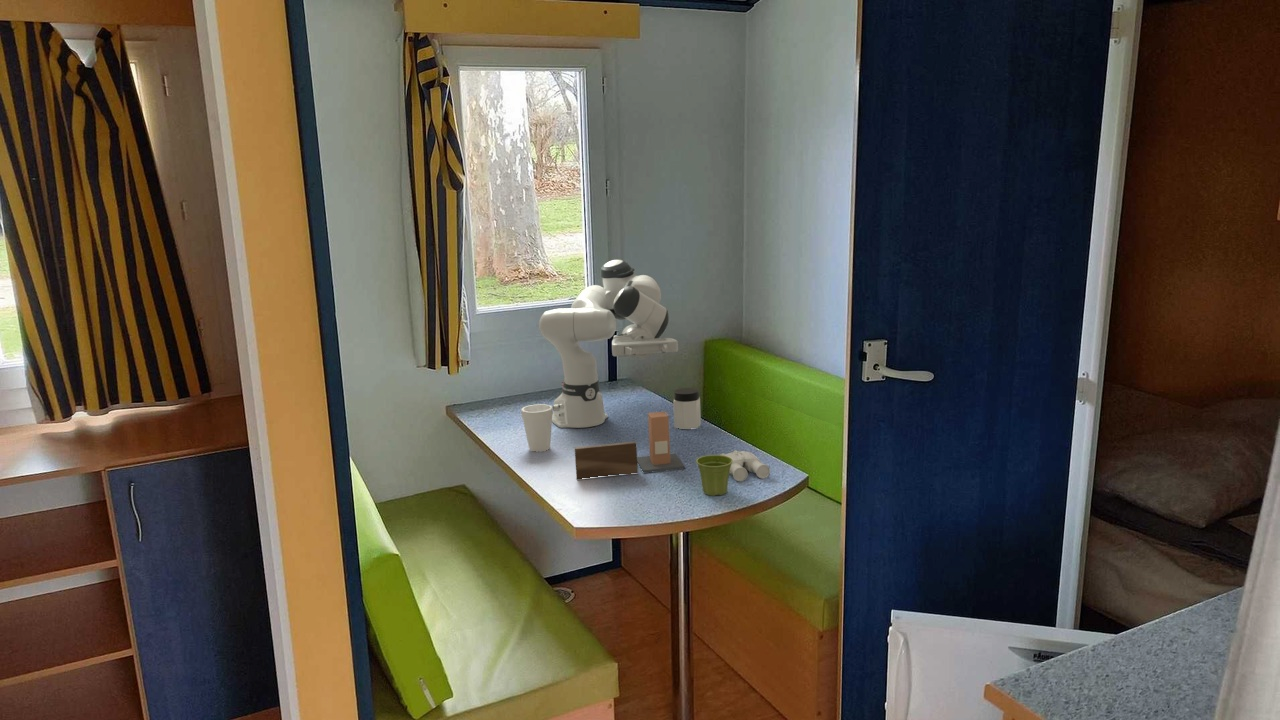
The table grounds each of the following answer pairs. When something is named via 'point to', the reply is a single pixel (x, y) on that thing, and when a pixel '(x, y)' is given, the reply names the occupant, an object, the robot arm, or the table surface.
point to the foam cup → (538, 426)
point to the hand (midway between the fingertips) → (649, 351)
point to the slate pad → (649, 467)
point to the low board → (606, 460)
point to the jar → (686, 408)
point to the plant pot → (714, 473)
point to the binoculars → (746, 465)
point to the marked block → (659, 438)
